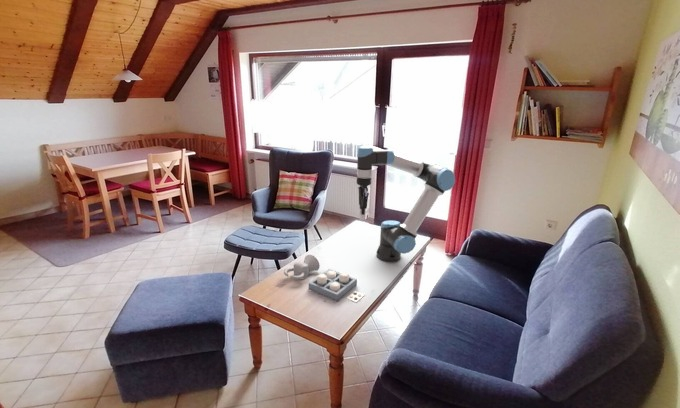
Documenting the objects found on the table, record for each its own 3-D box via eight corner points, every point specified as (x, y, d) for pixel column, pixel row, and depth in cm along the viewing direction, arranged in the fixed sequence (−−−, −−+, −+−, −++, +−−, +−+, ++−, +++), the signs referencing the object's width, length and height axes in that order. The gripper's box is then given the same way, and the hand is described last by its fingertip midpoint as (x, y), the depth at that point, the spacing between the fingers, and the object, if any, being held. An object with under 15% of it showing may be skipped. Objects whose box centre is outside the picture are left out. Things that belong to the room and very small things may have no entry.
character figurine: (305, 264, 201) (281, 279, 186) (304, 250, 198) (280, 265, 183) (322, 271, 194) (298, 287, 179) (322, 257, 191) (298, 272, 176)
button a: (333, 287, 176) (333, 281, 175) (341, 291, 173) (342, 284, 172) (327, 292, 172) (327, 285, 171) (336, 295, 169) (336, 288, 168)
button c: (342, 277, 182) (342, 271, 180) (350, 281, 179) (351, 274, 178) (337, 282, 178) (337, 275, 176) (345, 285, 175) (345, 278, 174)
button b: (320, 279, 180) (320, 272, 178) (328, 282, 177) (328, 276, 176) (314, 283, 176) (314, 277, 174) (322, 287, 173) (322, 280, 172)
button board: (329, 275, 190) (329, 268, 189) (356, 285, 181) (356, 279, 179) (308, 289, 176) (308, 282, 175) (337, 301, 166) (337, 294, 165)
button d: (330, 276, 187) (330, 269, 186) (337, 279, 184) (338, 272, 183) (324, 280, 183) (324, 273, 181) (332, 283, 180) (332, 276, 179)
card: (354, 291, 176) (354, 290, 175) (364, 295, 172) (364, 294, 172) (346, 298, 169) (346, 297, 169) (356, 302, 166) (356, 301, 166)
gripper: (354, 173, 182) (352, 215, 189) (359, 180, 169) (358, 224, 177) (367, 173, 183) (365, 214, 190) (374, 179, 171) (372, 223, 178)
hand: (362, 219), depth 184 cm, fingers closed
